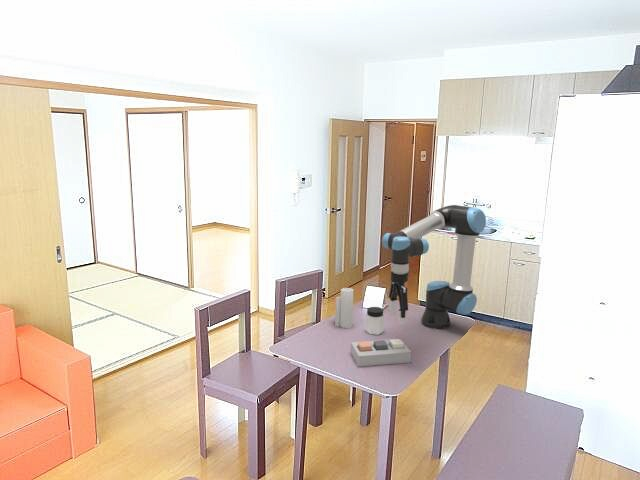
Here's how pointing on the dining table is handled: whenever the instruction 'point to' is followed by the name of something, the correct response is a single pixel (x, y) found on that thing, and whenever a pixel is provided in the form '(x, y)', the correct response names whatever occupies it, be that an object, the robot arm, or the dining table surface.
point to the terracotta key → (364, 346)
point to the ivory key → (396, 344)
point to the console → (380, 355)
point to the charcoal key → (380, 345)
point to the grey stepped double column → (344, 308)
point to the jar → (374, 320)
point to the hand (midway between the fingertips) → (397, 319)
